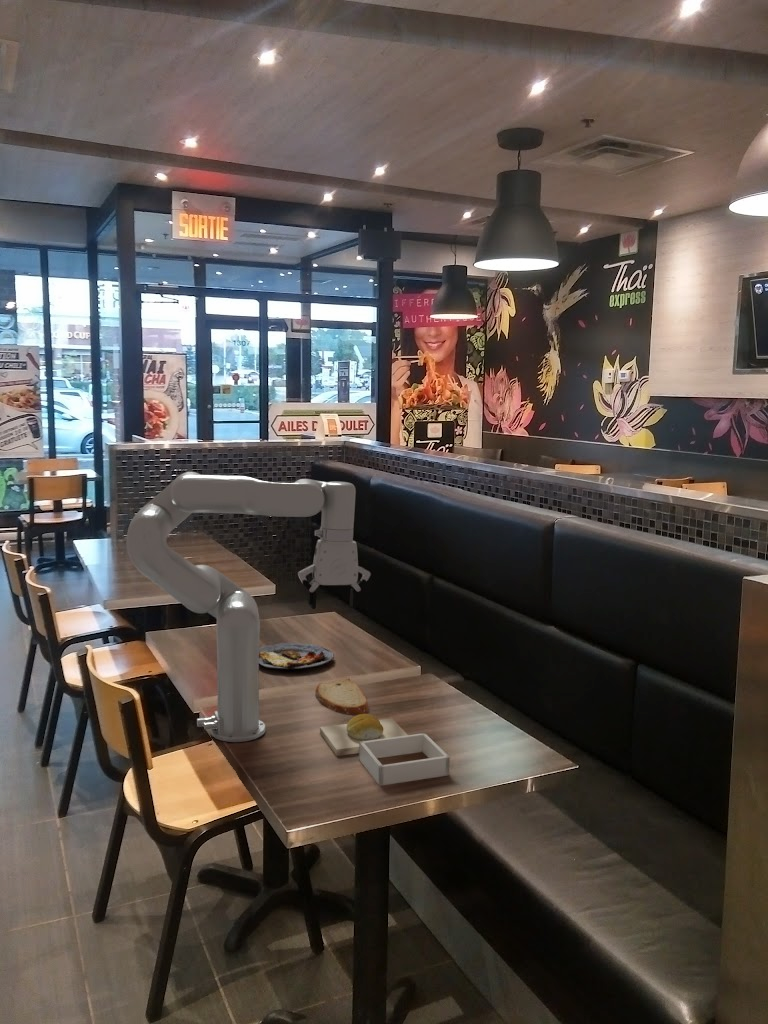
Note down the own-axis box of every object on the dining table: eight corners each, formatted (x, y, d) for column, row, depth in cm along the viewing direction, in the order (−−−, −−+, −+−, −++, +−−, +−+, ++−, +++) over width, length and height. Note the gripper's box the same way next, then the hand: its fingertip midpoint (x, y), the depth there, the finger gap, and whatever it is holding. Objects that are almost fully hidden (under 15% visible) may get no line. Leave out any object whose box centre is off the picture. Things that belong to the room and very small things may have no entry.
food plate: (347, 665, 243) (347, 654, 242) (276, 680, 230) (276, 668, 229) (306, 645, 263) (306, 635, 263) (238, 658, 250) (238, 647, 250)
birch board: (336, 756, 182) (336, 749, 182) (320, 733, 194) (320, 727, 194) (412, 745, 189) (412, 739, 188) (391, 724, 201) (391, 718, 201)
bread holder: (379, 785, 169) (380, 767, 168) (358, 759, 181) (359, 741, 181) (449, 775, 174) (449, 757, 174) (424, 749, 187) (424, 733, 186)
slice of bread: (364, 717, 205) (364, 703, 205) (298, 707, 211) (298, 693, 211) (388, 694, 222) (388, 680, 221) (326, 684, 228) (326, 671, 227)
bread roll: (377, 724, 197) (377, 708, 196) (386, 739, 188) (386, 722, 188) (343, 726, 195) (343, 710, 194) (350, 742, 186) (350, 725, 186)
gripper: (303, 537, 185) (300, 612, 188) (377, 538, 191) (372, 610, 193) (296, 532, 192) (293, 603, 195) (367, 532, 198) (363, 602, 200)
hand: (332, 607), depth 194 cm, fingers open, 9 cm apart
